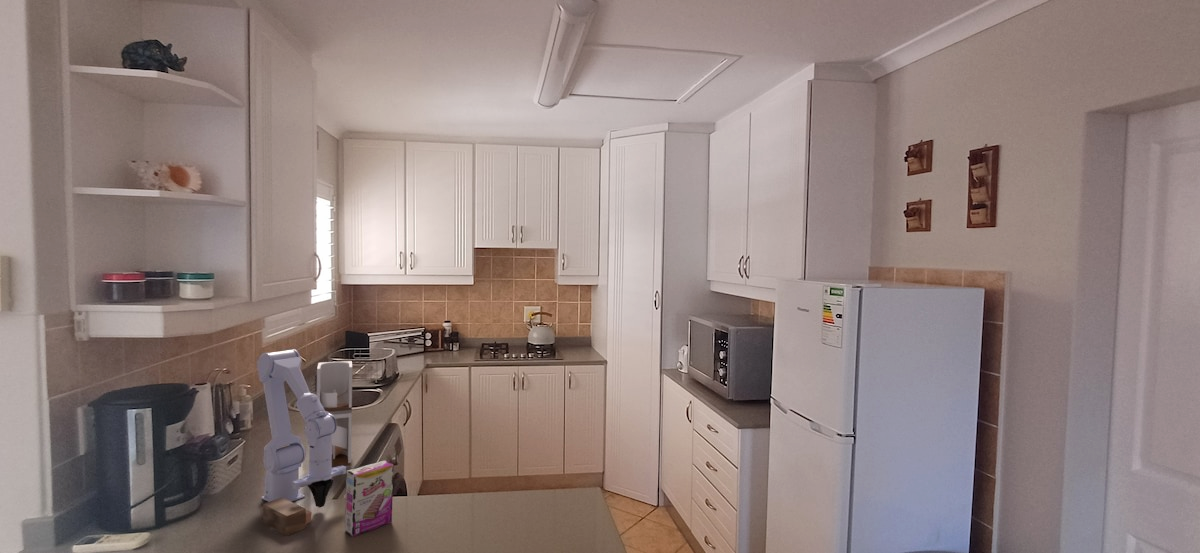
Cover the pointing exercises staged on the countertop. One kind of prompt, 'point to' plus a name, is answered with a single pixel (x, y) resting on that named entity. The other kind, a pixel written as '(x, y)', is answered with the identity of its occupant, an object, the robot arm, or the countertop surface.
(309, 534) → the countertop surface
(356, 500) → the candy bar box
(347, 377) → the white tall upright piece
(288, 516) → the tan wooden box
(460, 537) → the countertop surface
